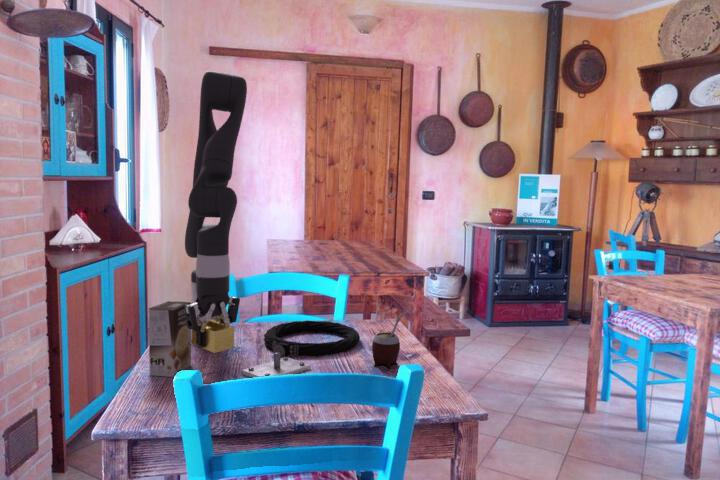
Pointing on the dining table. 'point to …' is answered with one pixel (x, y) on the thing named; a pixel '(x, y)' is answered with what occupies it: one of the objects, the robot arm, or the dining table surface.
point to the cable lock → (311, 348)
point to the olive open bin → (217, 336)
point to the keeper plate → (272, 371)
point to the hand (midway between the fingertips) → (212, 343)
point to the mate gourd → (386, 348)
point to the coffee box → (169, 339)
